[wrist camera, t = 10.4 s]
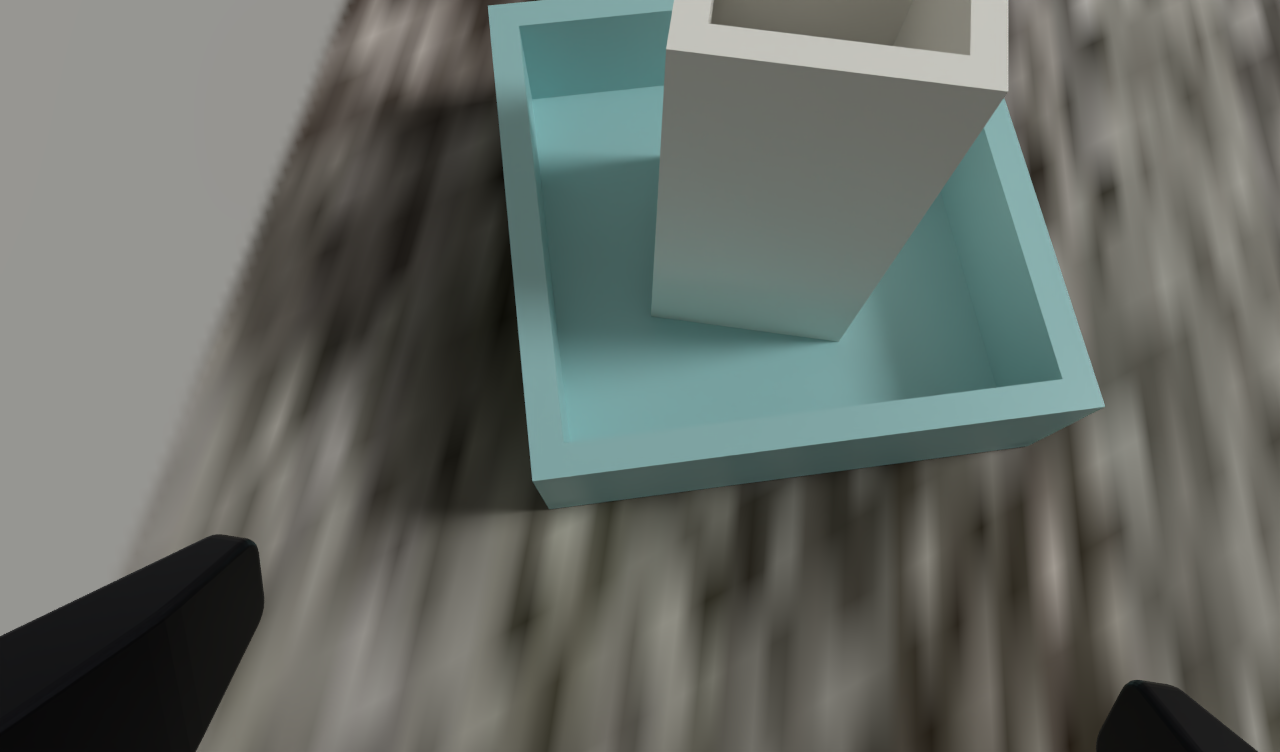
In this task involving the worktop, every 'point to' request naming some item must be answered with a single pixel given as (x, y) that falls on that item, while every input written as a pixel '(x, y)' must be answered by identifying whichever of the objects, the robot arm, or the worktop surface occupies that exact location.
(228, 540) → the robot arm
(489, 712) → the worktop surface
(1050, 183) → the worktop surface
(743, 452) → the crate
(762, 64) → the white hollow square box
